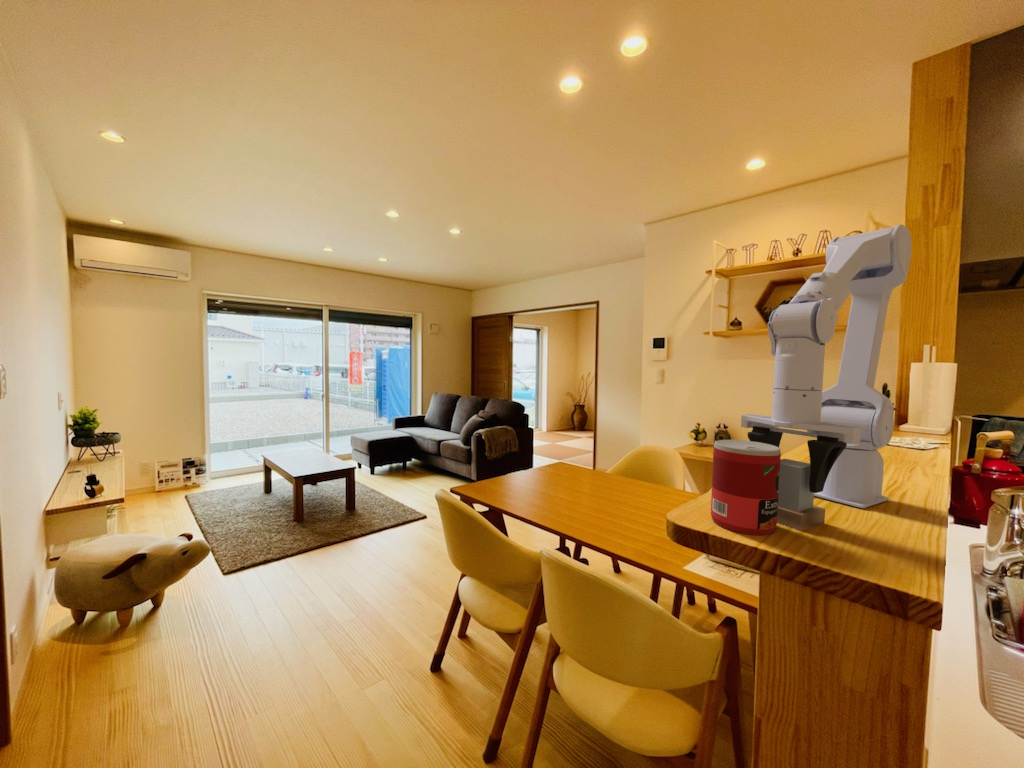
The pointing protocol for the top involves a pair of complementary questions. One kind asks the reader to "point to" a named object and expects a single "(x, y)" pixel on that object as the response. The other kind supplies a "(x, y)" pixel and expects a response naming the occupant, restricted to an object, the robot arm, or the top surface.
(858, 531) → the top surface
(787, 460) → the grey block
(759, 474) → the canned food
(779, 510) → the walnut block
